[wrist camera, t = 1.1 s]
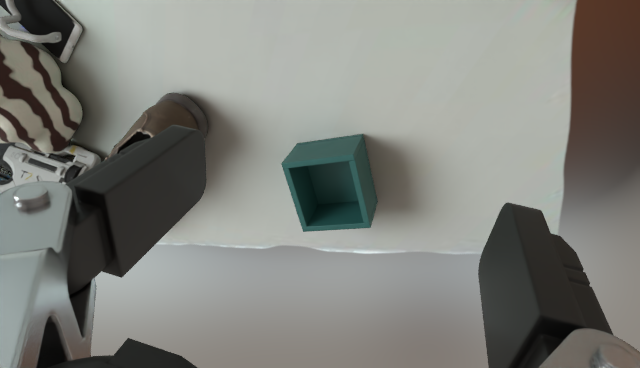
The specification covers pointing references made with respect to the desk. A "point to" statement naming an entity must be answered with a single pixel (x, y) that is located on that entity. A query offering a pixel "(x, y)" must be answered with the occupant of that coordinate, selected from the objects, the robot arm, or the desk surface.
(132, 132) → the loafer
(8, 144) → the toy gun
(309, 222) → the teal open storage bin
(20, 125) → the sculpture
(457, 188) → the desk surface
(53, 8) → the smartphone
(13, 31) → the bracket
